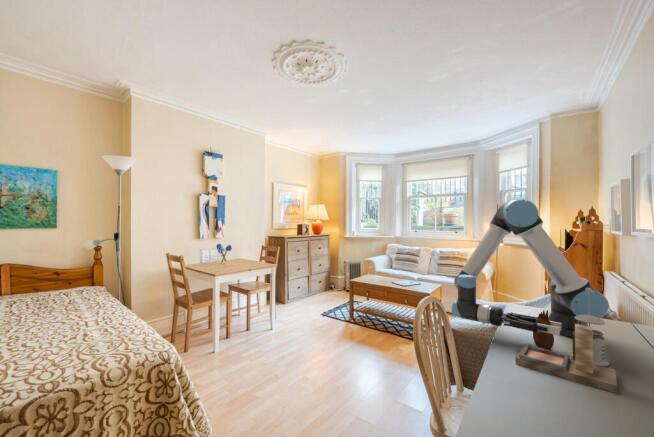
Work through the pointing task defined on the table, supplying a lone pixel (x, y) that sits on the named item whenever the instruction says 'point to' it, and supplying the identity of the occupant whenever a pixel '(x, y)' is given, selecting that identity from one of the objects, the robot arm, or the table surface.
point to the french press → (595, 336)
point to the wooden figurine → (543, 333)
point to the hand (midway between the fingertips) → (560, 329)
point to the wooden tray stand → (571, 361)
